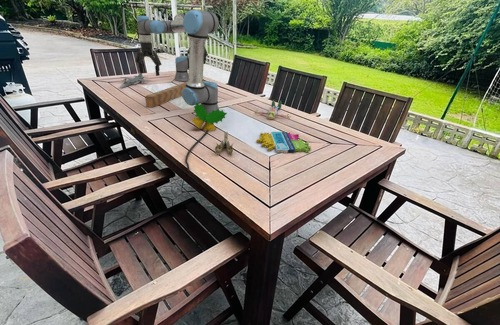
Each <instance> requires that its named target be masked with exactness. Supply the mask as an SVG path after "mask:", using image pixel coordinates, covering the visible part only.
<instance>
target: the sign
mask: <svg viewBox="0 0 500 325" xmlns="http://www.w3.org/2000/svg"><path fill="white" fill-rule="evenodd" d="M299 136H300V135H299V134H298V133H296V134H294V133H291V132H287V131H270V132H264V133H263V132H260V133H259V139H258V138H257V139H256V143H257V144H261V148H263V147H264V148H265V149H267V151H268V152H271V151H272V150H273V149H275V152H276V153H283V154H285V153H287V154H288V153H290V154H293V153H296V152H298V153H301V152H305V153H310V151H311V150H312V149H311V148H312V146H309V142H304V141H303V139H302V138H299Z"/></svg>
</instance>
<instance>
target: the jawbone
mask: <svg viewBox="0 0 500 325" xmlns="http://www.w3.org/2000/svg"><path fill="white" fill-rule="evenodd" d="M223 135H224V136H223V140H222V139H221V142H220V144H218V142H215V144H216V146H215V148H214V149H215V152H214V154H215V155H217V156H218V155H220V153H221V152H223V151H224V150H226V152H227V153H228V155H229V156H233V155H234V154H233V153H234V148H233V144H234V143H230V140H228V139H229V138H228V137H229V136H228V135H229V133H228V131H226V132H224V134H223Z"/></svg>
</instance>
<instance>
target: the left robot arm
mask: <svg viewBox="0 0 500 325" xmlns="http://www.w3.org/2000/svg"><path fill="white" fill-rule="evenodd" d="M185 14H186V13H178V14H175V16H174V17H173V20H180V19H184V16H185ZM189 53H190V39H189V38H188V49H187V54H188V55H189ZM207 56H209V53H208V51H207V49H206V47H205V48H204V65H206V61H207ZM174 61H175V62H174V63H175V76H174V80H175V81H176V82H187V81H189V57H187V55H181V56H176V57H175V60H174Z"/></svg>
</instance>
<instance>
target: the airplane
mask: <svg viewBox="0 0 500 325" xmlns="http://www.w3.org/2000/svg"><path fill="white" fill-rule="evenodd" d="M119 78H121V79H122V82H123V83H122V84H121V85H120V86H119V88H120V89H124V88H126V87H128V86H132V85H137V84H140V83H141V84H143V83H144V84H145V82H146V81H149V82H150V81H152V79H148V76H144V75H143V73H140V72H139V73H138V75H134V77H126V76H125V77H124V76H120V77H119ZM146 78H147V79H146Z"/></svg>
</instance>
